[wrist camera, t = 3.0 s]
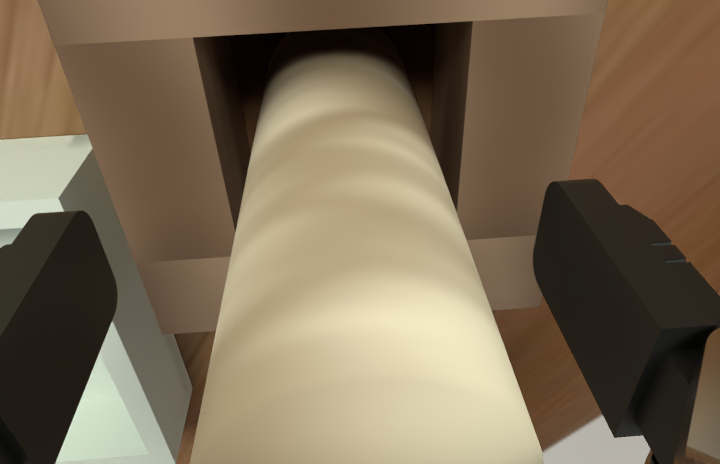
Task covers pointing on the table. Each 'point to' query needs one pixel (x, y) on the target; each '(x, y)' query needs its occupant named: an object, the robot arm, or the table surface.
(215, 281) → the bored block
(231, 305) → the dowel
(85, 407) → the tray
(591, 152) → the table surface
